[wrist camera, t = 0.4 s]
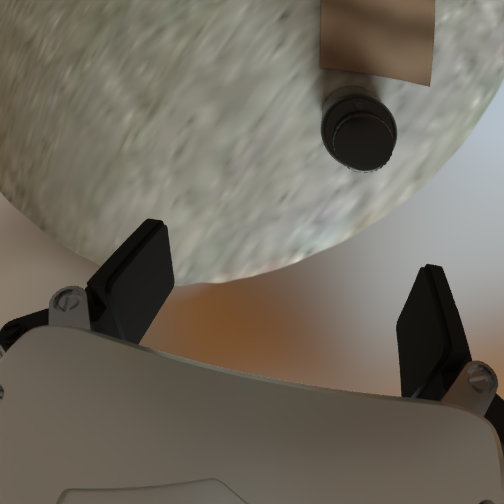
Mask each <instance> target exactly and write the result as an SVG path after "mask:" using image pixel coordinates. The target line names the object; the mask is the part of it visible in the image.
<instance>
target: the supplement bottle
mask: <svg viewBox="0 0 504 504" xmlns="http://www.w3.org/2000/svg"><path fill="white" fill-rule="evenodd" d="M321 136H322V140H323V143H324V146H325V148H326V149H327V151H328V152H329V154H330V155H331V156H332V157H333V158H334V159H335V160H337V161H338V162H339V163H341V164H343V165H344V166H347V167H348V168H349V169H352V170H353V171H358V172H364V173H367V172H372V171H377V170H378V169H379V168H382V167H383V165H385V164H386V163H387V161H389V159H390V157H391V156H392V151H393V150H394V147H395V144H396V140H397V126H396V122H395V120H394V117H393V115H392V114H391V112H390V111H389V109H388V108H387V107H386V106H385V105H384V104H383V103H382V102H381V101H380V100H379V99H378V98H377V97H376V96H375V95H373V94H372V93H371V92H370V91H368V90H366V89H364V88H361V87H358V86H345V87H341V88H339V89H337V90H335V91H333V92H332V93H331V94H330V95H329V96H328V98H327V99H326V101H325V103H324V105H323V109H322V118H321Z"/></svg>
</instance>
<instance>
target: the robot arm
mask: <svg viewBox="0 0 504 504" xmlns="http://www.w3.org/2000/svg"><path fill="white" fill-rule="evenodd" d="M87 285H88V286H87V287H86V288H85V290H84V289H83V288H81V287H79V286H68V287H65V288H62V289H60V290H59V291H57V292H56V293H55V294H54V295H53V296H52V298H51V299H50V302H49V308H48V309H44V310H41V311H38V312H35V313H32V314H29V315H26V316H23V317H20V318H17V319H14V320H12V321H9V322H8V323H6V324H5V325H4V326H3V328H2V329H1V331H0V504H504V400H503V399H501V397H500V396H499V395H497V394H496V392H497V388H498V379H497V376H496V374H495V372H494V371H493V369H492V368H491V367H490V366H489V365H487V364H485V363H484V362H481V361H472V358H471V354H470V350H469V346H468V343H467V339H466V335H465V332H464V328H463V325H462V322H461V318H460V316H459V312H458V309H457V307H456V305H455V302H454V299H453V296H452V293H451V290H450V287H449V284H448V281H447V279H446V276H445V273H444V271H443V268H442V267H441V266H437V265H431V264H426V266H425V267H421V268H420V270H419V272H418V275H417V277H416V280H415V282H414V285H413V287H412V290H411V292H410V294H409V296H408V299H407V301H406V303H405V305H404V308H403V310H402V312H401V314H400V316H399V318H398V321H397V325H396V332H397V341H398V352H399V364H400V377H401V393H402V394H401V395H402V397H396V396H387V395H378V394H369V393H361V392H353V391H345V390H338V389H331V388H324V387H318V386H312V385H305V384H300V383H294V382H288V381H283V380H278V379H273V378H267V377H262V376H258V375H252V374H248V373H243V372H239V371H234V370H230V369H226V368H221V367H217V366H213V365H209V364H205V363H201V362H197V361H194V360H190V359H186V358H182V357H178V356H175V355H171V354H168V353H164V352H161V351H157V350H154V349H151V348H147V347H144V346H140V345H138V344H139V342H140V340H141V339H142V338H143V336H144V334H145V332H146V331H147V329H148V328H149V326H150V324H151V323H152V321H153V319H154V318H155V316H156V315H157V313H158V311H159V310H160V308H161V307H162V305H163V304H164V302H165V300H166V299H167V297H168V296H169V294H170V292H171V291H172V289H173V287H174V274H173V267H172V260H171V252H170V244H169V236H168V228H167V226H166V225H164V223H163V221H161V220H155V219H146V220H145V221H144V222H143V223H142V224H141V225H140V226H139V227H138V228H137V229H136V230H135V231H134V232H133V233H132V234H131V235H130V237H129V238H128V239H127V240H126V241H125V242H124V243H123V244H122V245H121V246H120V247H119V248H118V249H117V250H116V251H115V252H114V253H113V254H112V255H111V257H110V258H109V259H108V260H107V261H106V262H105V263H104V264H103V265H102V266H101V268H100V269H99V270H98V271H97V272H96V273H95V274H94V275H93V276H92V277H91V279H90V280H89V281H88V282H87Z"/></svg>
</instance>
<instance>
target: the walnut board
mask: <svg viewBox="0 0 504 504" xmlns="http://www.w3.org/2000/svg"><path fill="white" fill-rule="evenodd" d="M434 28H435V0H321V37H320V64H319V68H328V69H337V70H345V71H352V72H359V73H365V74H372V75H377V76H383V77H388V78H393V79H398V80H403V81H408V82H412V83H416V84H421V85H425V86H429V87H430V81H431V71H432V60H433V47H434Z"/></svg>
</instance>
